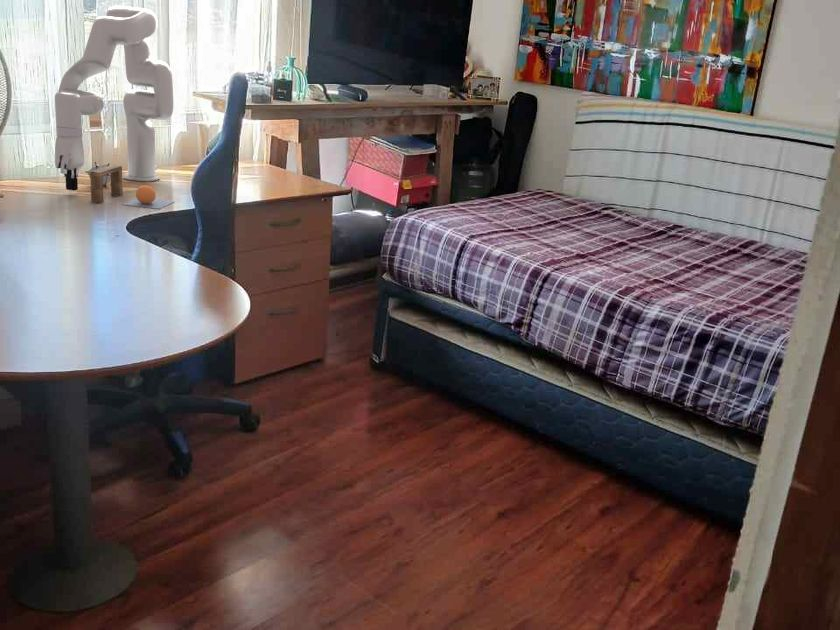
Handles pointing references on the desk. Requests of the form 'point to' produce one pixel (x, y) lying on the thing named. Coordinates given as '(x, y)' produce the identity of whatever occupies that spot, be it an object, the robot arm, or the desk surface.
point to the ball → (145, 194)
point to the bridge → (97, 182)
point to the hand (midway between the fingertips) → (71, 189)
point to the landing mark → (154, 205)
